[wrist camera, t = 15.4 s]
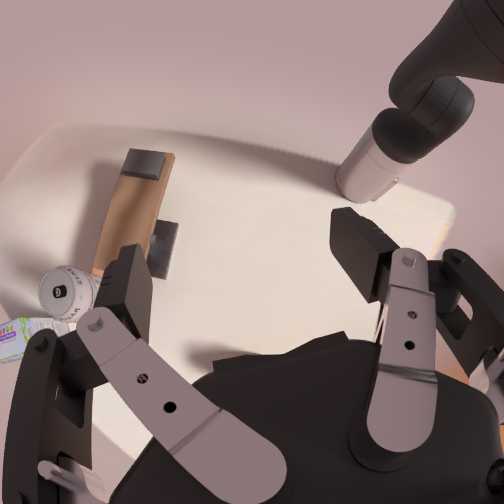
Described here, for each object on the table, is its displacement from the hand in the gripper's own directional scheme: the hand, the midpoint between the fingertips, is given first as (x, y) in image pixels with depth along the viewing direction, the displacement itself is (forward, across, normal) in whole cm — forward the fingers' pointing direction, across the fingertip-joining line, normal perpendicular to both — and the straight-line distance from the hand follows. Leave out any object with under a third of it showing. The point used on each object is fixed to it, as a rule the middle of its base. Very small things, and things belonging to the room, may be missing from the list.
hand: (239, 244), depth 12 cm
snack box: (+25, +42, +30) cm, 57 cm away
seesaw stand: (+36, +14, +19) cm, 43 cm away
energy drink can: (+22, +18, +20) cm, 34 cm away
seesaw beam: (+30, +14, +14) cm, 36 cm away
